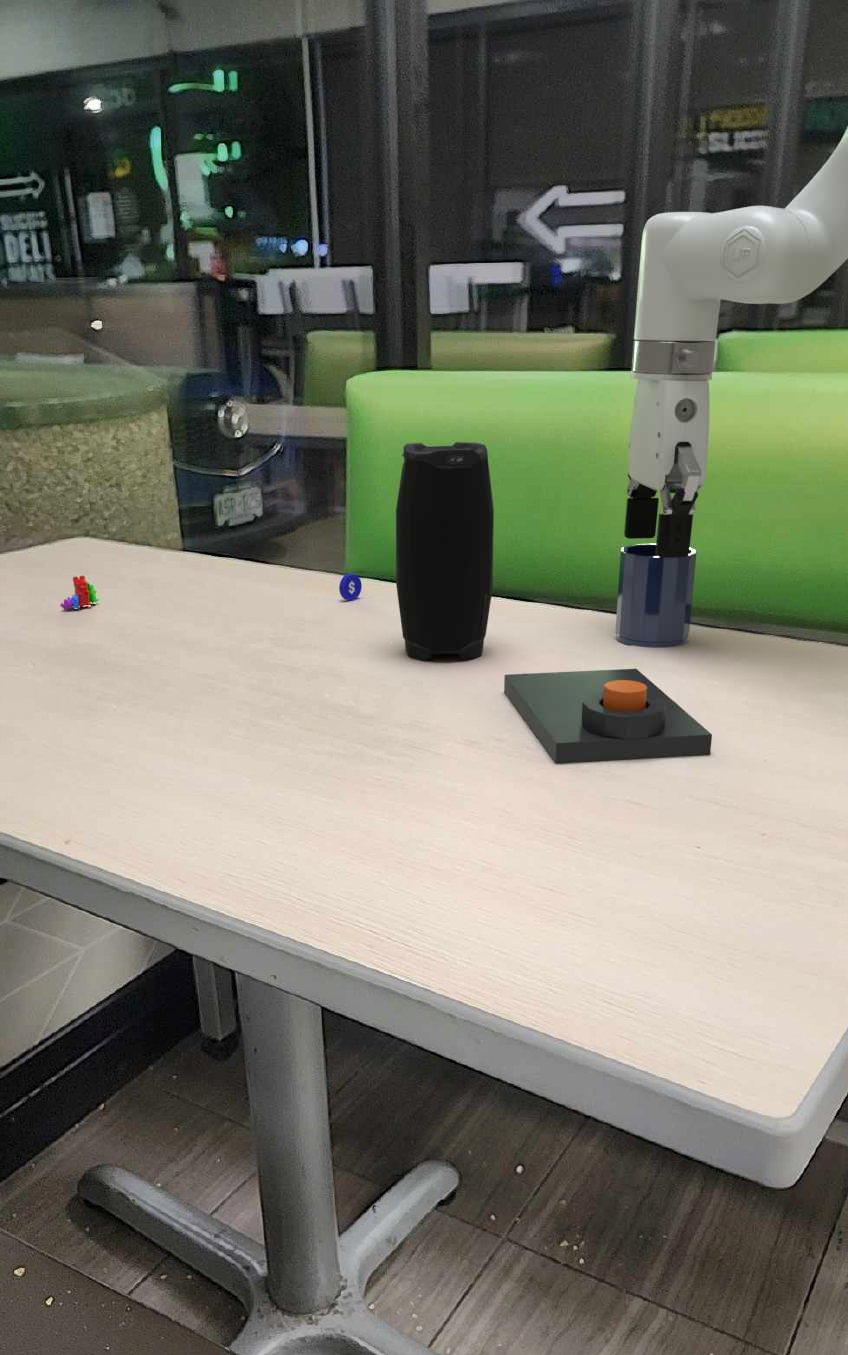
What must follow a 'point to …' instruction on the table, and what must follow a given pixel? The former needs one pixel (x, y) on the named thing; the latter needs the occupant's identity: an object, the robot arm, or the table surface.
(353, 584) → the coin
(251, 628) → the table surface
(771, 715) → the table surface
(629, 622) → the blue cup
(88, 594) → the colorful small pieces
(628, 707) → the switch
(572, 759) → the push button base
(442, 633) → the portable speaker
